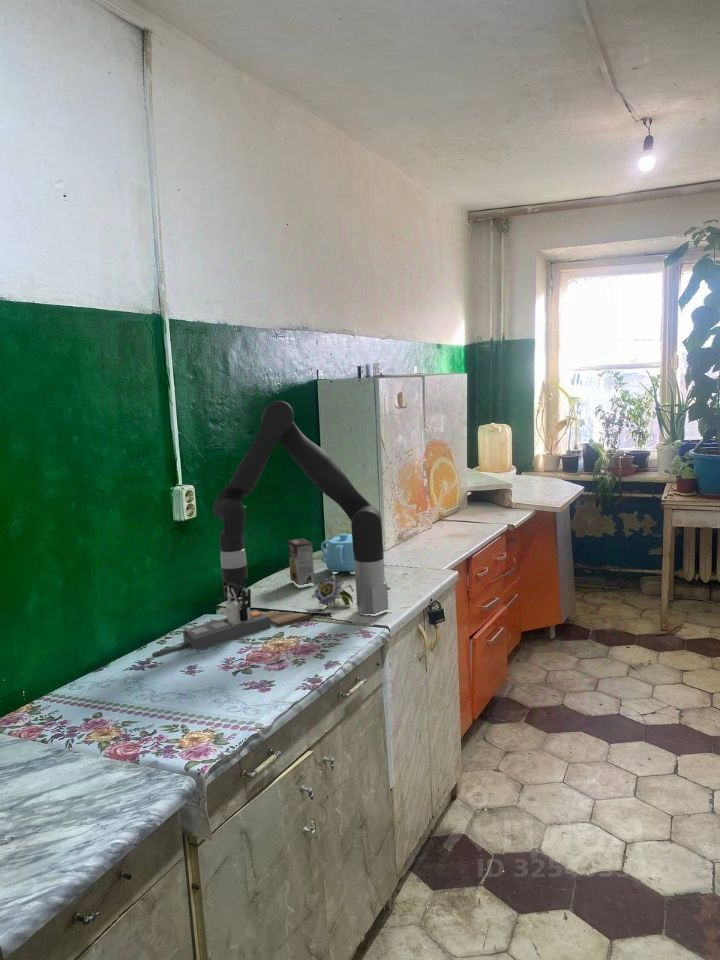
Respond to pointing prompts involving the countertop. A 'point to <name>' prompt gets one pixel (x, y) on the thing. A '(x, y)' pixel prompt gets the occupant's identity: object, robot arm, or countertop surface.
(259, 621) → the power strip
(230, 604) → the block
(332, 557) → the teapot
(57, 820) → the countertop surface
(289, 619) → the walnut pad
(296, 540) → the coffee box
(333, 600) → the passion flower
